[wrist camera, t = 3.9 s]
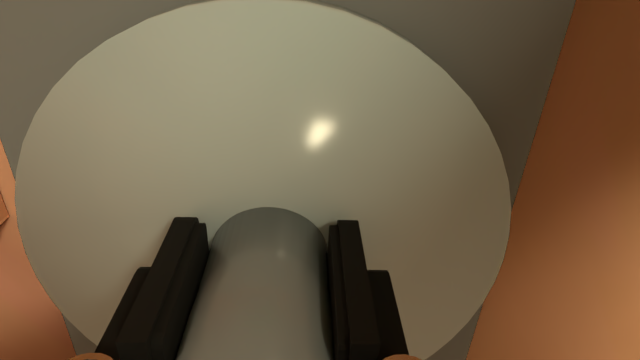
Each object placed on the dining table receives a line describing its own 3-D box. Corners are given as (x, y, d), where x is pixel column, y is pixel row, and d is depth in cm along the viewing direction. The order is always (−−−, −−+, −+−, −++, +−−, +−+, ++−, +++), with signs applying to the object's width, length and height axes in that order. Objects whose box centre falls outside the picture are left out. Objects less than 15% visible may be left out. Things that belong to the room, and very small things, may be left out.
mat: (567, -21, 10) (581, -18, 10) (454, 368, 17) (458, 382, 17) (-45, -47, 10) (-65, -46, 9) (92, 367, 17) (85, 381, 16)
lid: (552, 4, 10) (844, 84, 5) (449, 373, 16) (518, 589, 11) (-32, -18, 9) (-487, 44, 4) (96, 372, 16) (-13, 599, 10)
